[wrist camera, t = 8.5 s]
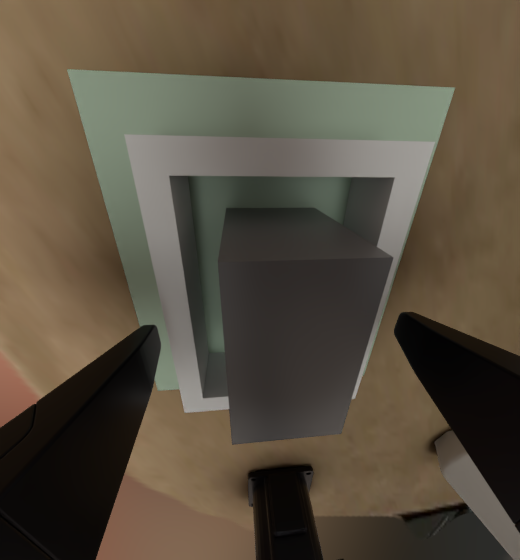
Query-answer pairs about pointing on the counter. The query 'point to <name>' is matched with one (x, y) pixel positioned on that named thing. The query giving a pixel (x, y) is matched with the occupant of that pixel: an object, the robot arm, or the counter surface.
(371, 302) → the chute block
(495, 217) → the counter surface
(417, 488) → the counter surface
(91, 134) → the deck plate
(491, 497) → the salt shaker
